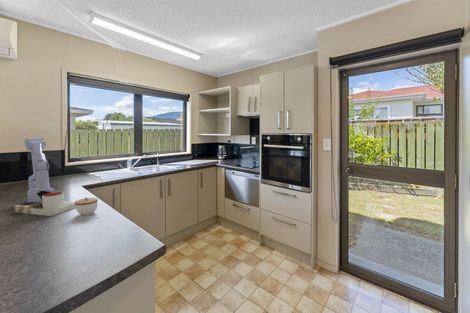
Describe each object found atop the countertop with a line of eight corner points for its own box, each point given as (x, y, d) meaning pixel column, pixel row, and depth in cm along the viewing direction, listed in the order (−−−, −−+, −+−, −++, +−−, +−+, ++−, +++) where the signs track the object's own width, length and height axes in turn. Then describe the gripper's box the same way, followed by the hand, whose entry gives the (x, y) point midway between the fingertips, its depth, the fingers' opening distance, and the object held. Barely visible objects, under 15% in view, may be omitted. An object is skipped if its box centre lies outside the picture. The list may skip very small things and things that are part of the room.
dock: (31, 214, 126) (30, 208, 125) (57, 205, 140) (57, 201, 140) (51, 215, 122) (51, 210, 122) (76, 207, 137) (76, 202, 136)
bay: (14, 212, 129) (13, 205, 128) (42, 204, 143) (41, 198, 143) (29, 213, 126) (28, 207, 126) (55, 205, 141) (55, 199, 140)
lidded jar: (83, 210, 131) (82, 195, 130) (102, 210, 131) (101, 194, 130) (71, 217, 120) (69, 200, 119) (91, 216, 121) (90, 200, 120)
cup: (47, 214, 124) (45, 197, 123) (40, 211, 130) (39, 194, 129) (67, 209, 133) (66, 193, 132) (60, 206, 138) (59, 191, 137)
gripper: (26, 182, 129) (28, 204, 130) (44, 183, 125) (47, 206, 127) (39, 179, 136) (41, 201, 137) (57, 180, 132) (59, 202, 134)
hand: (45, 203), depth 132 cm, fingers closed
